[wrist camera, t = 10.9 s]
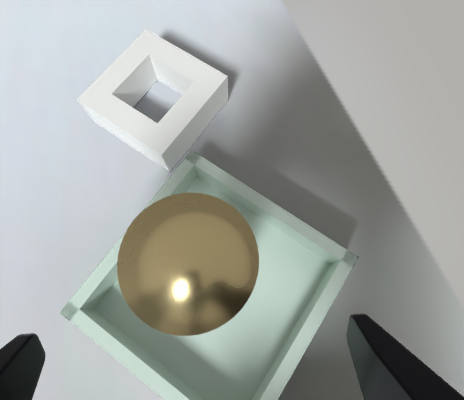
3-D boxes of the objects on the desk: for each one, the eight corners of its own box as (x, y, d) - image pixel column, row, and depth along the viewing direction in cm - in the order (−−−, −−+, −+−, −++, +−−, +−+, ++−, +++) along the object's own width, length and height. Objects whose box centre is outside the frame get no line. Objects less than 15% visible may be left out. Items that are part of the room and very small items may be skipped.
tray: (240, 440, 19) (241, 464, 16) (82, 311, 22) (60, 312, 19) (342, 262, 23) (358, 257, 20) (196, 167, 25) (191, 149, 22)
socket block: (169, 172, 25) (161, 155, 22) (93, 121, 26) (76, 99, 23) (228, 100, 27) (227, 76, 24) (154, 56, 28) (146, 29, 25)
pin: (216, 327, 21) (189, 371, 7) (177, 289, 21) (86, 265, 8) (252, 284, 21) (287, 253, 8) (213, 249, 22) (186, 167, 9)
